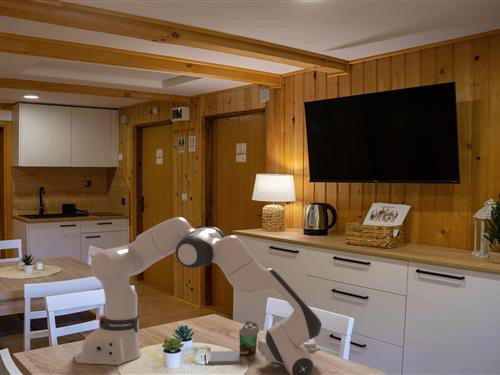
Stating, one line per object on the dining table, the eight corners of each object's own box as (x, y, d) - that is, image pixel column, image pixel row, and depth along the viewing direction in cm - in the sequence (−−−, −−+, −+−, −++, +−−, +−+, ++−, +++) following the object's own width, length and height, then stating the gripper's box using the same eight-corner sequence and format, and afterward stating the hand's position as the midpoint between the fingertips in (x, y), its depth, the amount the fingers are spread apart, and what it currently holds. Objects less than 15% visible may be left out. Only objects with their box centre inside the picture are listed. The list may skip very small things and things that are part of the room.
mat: (206, 364, 175) (206, 361, 175) (204, 354, 185) (204, 351, 185) (241, 363, 177) (241, 360, 177) (237, 353, 187) (237, 350, 187)
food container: (255, 358, 182) (256, 331, 182) (238, 357, 183) (239, 329, 183) (261, 347, 194) (262, 321, 194) (245, 346, 195) (246, 320, 195)
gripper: (321, 341, 173) (311, 329, 186) (262, 342, 170) (255, 330, 184) (321, 359, 173) (310, 346, 187) (261, 361, 170) (255, 347, 184)
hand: (282, 338), depth 185 cm, fingers open, 8 cm apart
